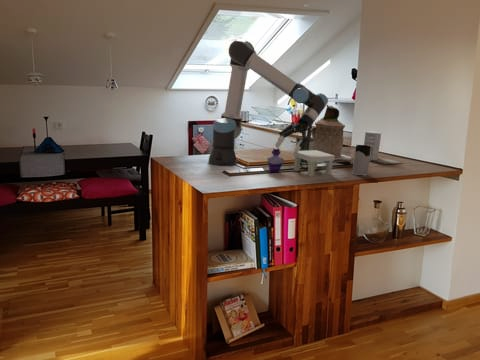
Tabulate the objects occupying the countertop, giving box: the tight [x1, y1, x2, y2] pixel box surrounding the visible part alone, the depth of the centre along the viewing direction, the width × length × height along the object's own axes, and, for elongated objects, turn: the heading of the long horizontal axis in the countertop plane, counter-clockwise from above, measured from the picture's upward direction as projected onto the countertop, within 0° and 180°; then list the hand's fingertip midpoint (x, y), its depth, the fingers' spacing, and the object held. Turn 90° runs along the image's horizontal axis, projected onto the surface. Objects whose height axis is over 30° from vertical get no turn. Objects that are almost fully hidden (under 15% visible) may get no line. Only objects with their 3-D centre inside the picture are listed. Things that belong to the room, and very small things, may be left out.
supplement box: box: [363, 130, 382, 161], centre depth 284 cm, size 10×9×17 cm
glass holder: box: [351, 144, 373, 176], centre depth 241 cm, size 9×14×15 cm, turn 135°
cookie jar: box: [311, 104, 352, 161], centre depth 280 cm, size 25×25×32 cm
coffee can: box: [295, 136, 315, 165], centre depth 260 cm, size 10×10×14 cm
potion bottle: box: [266, 147, 285, 174], centre depth 233 cm, size 9×9×12 cm
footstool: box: [292, 150, 336, 177], centre depth 237 cm, size 15×15×10 cm
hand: (285, 148), depth 235 cm, fingers open, 13 cm apart
